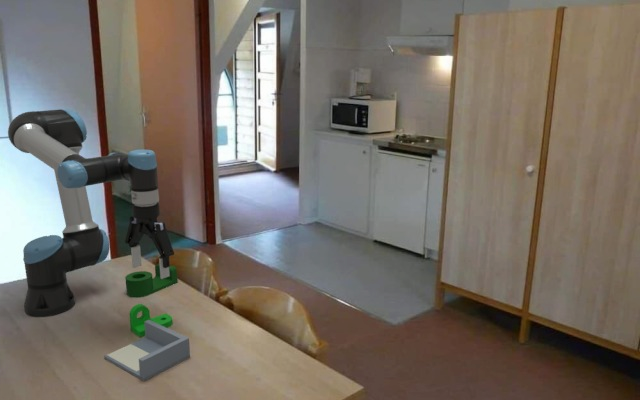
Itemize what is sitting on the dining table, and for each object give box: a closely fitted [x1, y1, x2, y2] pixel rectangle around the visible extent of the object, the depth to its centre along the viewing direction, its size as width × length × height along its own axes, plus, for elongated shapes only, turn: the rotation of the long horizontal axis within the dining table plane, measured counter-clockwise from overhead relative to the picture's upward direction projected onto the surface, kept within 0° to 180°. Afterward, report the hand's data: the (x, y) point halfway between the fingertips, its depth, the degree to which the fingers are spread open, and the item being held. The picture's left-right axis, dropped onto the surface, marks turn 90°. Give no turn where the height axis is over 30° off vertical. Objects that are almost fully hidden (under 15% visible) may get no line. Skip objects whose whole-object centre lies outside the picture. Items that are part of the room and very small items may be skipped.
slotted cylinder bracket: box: [124, 263, 179, 299], centre depth 197 cm, size 18×9×6 cm, turn 147°
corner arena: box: [103, 320, 191, 382], centre depth 150 cm, size 18×15×6 cm
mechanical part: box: [129, 303, 174, 338], centre depth 167 cm, size 12×6×8 cm, turn 134°
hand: (150, 272), depth 163 cm, fingers open, 13 cm apart
